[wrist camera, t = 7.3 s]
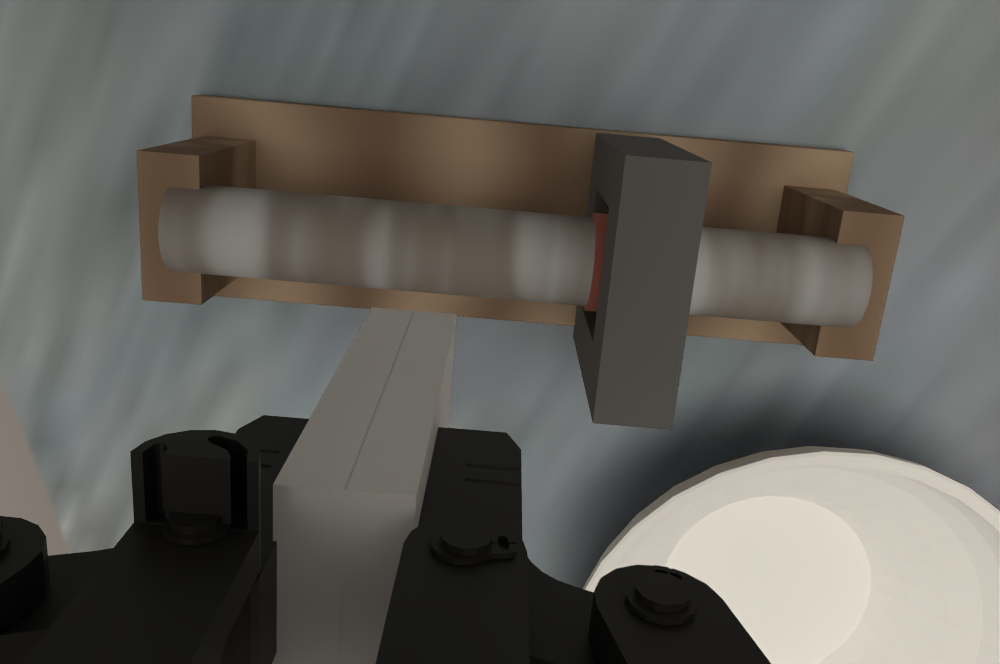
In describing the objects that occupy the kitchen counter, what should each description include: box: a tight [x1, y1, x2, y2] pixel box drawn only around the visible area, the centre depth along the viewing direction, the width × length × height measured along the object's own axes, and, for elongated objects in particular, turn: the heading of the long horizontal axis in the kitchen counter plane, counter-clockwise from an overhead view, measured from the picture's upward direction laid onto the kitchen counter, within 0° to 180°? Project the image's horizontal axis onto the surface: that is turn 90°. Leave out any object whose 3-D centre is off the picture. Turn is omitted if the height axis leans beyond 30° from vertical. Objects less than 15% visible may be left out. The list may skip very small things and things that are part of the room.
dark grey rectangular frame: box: [573, 133, 712, 430], centre depth 30 cm, size 2×8×9 cm, turn 175°
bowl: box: [582, 446, 1000, 664], centre depth 38 cm, size 20×20×7 cm
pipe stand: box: [137, 95, 904, 361], centre depth 32 cm, size 26×8×9 cm, turn 85°
